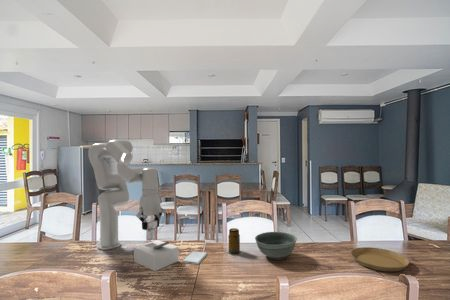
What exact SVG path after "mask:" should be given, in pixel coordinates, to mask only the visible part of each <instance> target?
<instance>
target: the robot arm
mask: <svg viewBox="0 0 450 300" xmlns="http://www.w3.org/2000/svg"><path fill="white" fill-rule="evenodd" d="M133 147H134V146H133V144H132V143H131V141H129V140H127V139H112V140H108V142H106V143H105V142H103V143H101V142H100V143H94V144H92V145H90V146H89V148H88V151H87V155H88V159H89V162H90V164H91V166H92V168H93V172H94V177H95V181H96V186H97V187H98V189H99V190H103V191H104V190H107V191H104V192H102V193H100V194H99V195H98V197H97V203H98V208H99V222H100V223H99V226H100V227H99V232H100V233H99V237H100V238H99V242H100V243H99V244H97V246H96V247H97V249H98V250H101V251H103V250H104V251H108V250H114V249H117V248H119V247H120V246H122V242H121V241H120V240H119V213H118V212H117V210H116V209H115V207H116V208H117V207H120V206H124V205H127V204H128V203H129V201H130V194H129V193H130V192H129V190H128V186H127V183H128V184H132V183H141V189H142V190H141V191H142V195H140V199H139V208H138V209H139V210H138V212H137V213H136V215H135V217H136V218H137V219H138V220H139V221H140V222H141V228H142V230H143V231H147V222H146V220H148V217H150V216H154V218H153V219H155V220H157V227H156V228H158V227H160V219H161V216H162V214H163V213H164V211H165V210H164V207H163V208H162V207H161V199H160V195H159V192H160V188H158V187H159V185H158V184H159V183H158V181H159V180H158V169H157V168H155V167H146V166H145V167H144V166H143V167H142V166H141V167H130V166H128V164H130V163H131V162H132V160H133V154H132V151H133ZM105 158H113V159H114V161H116V169H117V170H116V171H117V172H112V171H111V169H110V165H109V164H108V162H106V160H105Z"/></svg>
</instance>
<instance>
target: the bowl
mask: <svg viewBox="0 0 450 300" xmlns="http://www.w3.org/2000/svg"><path fill="white" fill-rule="evenodd" d="M254 240H255V243H256V245H257V248H258V249H259V251H260V252H261V253H262V254H263V255H264V256H266V257H267V259H269V260H272V261H273V260H274V261H281V260H284V259H286V257H288V256H289V255H290V254H292V252H294V248H295V247H296V243H297V237H296V235H293V234H291V233H287V232H282V231H267V232H262V233H259V234H257V235H256V236H255V237H254Z"/></svg>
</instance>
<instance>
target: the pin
mask: <svg viewBox="0 0 450 300" xmlns="http://www.w3.org/2000/svg"><path fill="white" fill-rule="evenodd" d="M146 222H147V230H146V233H147V235H146V236H147V237H146V238H147V239H146V240H148V241H154V240H156V236H155V234H156V233H155V231H156V230H155V229H156V228H158V227H157V220H155V219H154V218H152V219H146Z"/></svg>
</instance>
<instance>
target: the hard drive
mask: <svg viewBox="0 0 450 300" xmlns="http://www.w3.org/2000/svg"><path fill="white" fill-rule="evenodd" d="M207 255H208V252H203V251H191V252H190V253H189V254H188V255H187V256H186V257H185V258H184V259H182V264H190V265H199V264H200V263H201V262H202V261H203V260H204V259H205V258H206V257H207Z"/></svg>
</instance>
